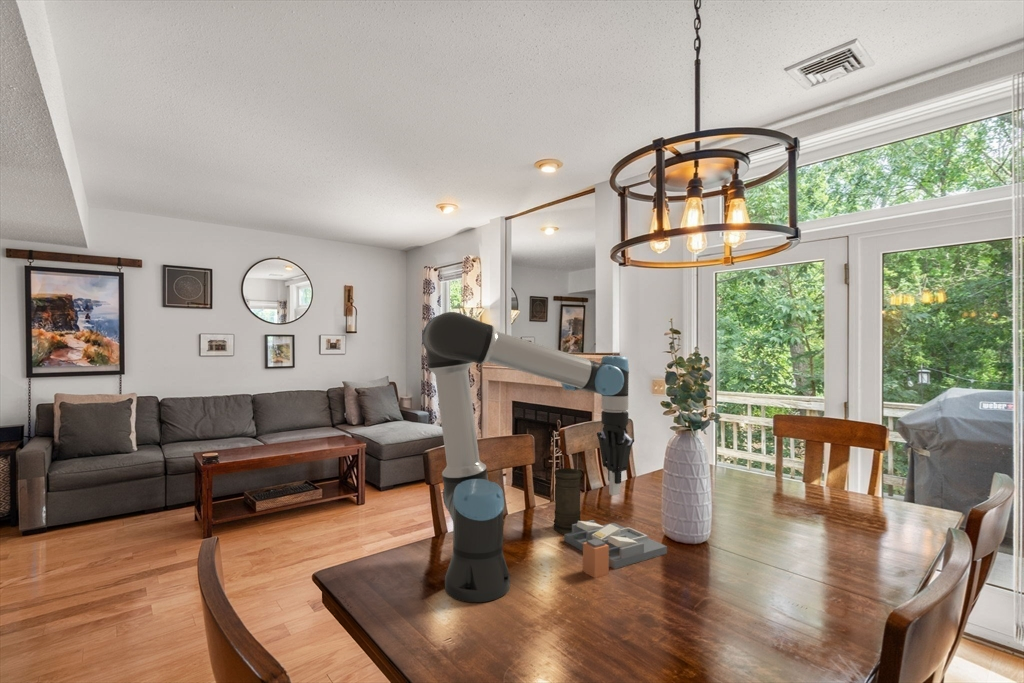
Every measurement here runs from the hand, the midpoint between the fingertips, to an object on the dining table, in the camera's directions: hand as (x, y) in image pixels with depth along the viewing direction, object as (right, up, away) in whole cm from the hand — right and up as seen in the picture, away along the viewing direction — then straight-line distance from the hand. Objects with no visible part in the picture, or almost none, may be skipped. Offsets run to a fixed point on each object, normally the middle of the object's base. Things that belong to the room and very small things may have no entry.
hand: (614, 494), depth 139 cm
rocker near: (+1, -11, -7) cm, 13 cm away
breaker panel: (0, -15, 0) cm, 15 cm away
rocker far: (-6, -11, +4) cm, 13 cm away
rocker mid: (-3, -11, -2) cm, 11 cm away
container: (-12, -15, +13) cm, 23 cm away
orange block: (-8, -15, -16) cm, 23 cm away
